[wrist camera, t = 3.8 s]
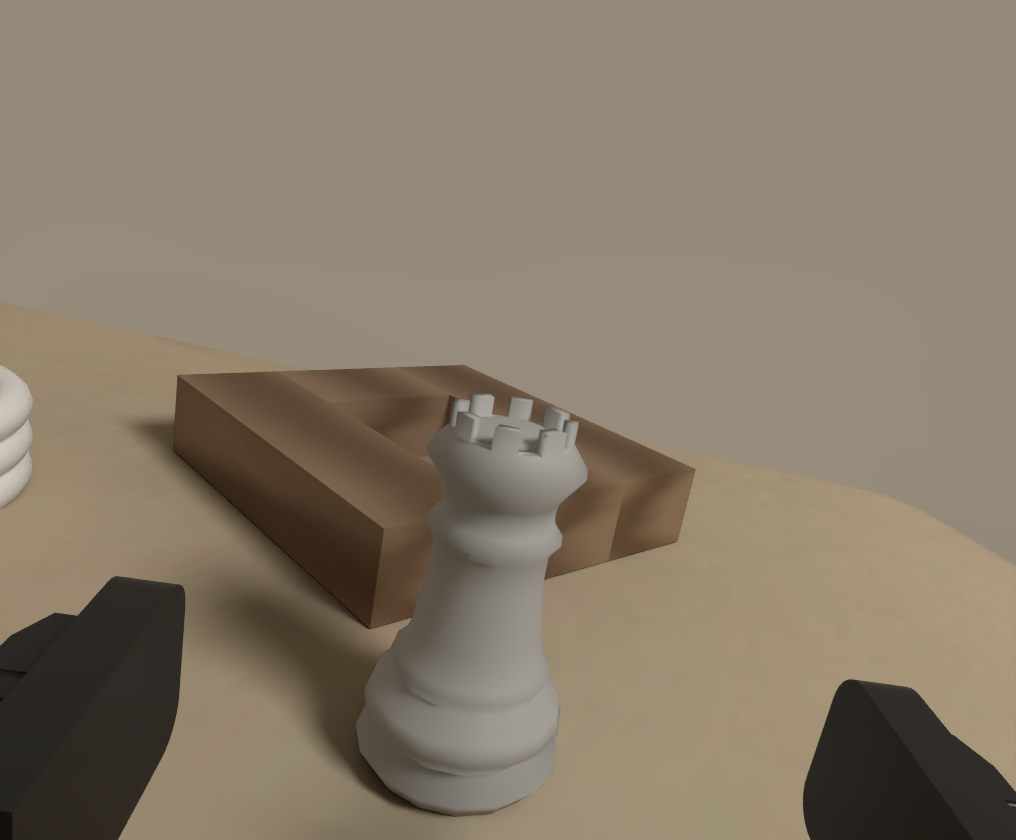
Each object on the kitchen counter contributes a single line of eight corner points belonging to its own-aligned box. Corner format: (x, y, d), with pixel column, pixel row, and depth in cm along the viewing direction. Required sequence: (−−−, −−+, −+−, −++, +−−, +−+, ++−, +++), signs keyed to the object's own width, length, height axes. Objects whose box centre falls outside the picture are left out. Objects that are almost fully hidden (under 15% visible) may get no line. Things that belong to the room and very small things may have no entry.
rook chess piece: (405, 669, 21) (453, 367, 19) (573, 728, 20) (645, 415, 18) (313, 778, 17) (359, 409, 15) (517, 861, 16) (603, 474, 14)
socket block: (370, 628, 23) (383, 528, 22) (173, 449, 32) (177, 374, 31) (677, 541, 32) (695, 469, 31) (454, 422, 42) (464, 364, 41)
